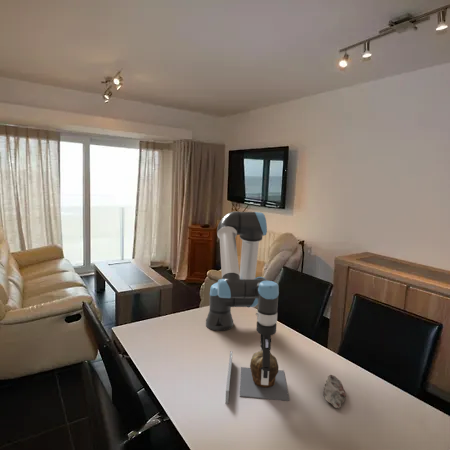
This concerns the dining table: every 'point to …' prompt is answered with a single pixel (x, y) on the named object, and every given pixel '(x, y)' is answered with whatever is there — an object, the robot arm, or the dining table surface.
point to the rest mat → (255, 391)
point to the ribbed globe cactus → (256, 371)
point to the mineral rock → (334, 391)
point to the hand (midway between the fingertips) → (263, 373)
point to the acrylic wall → (228, 378)
